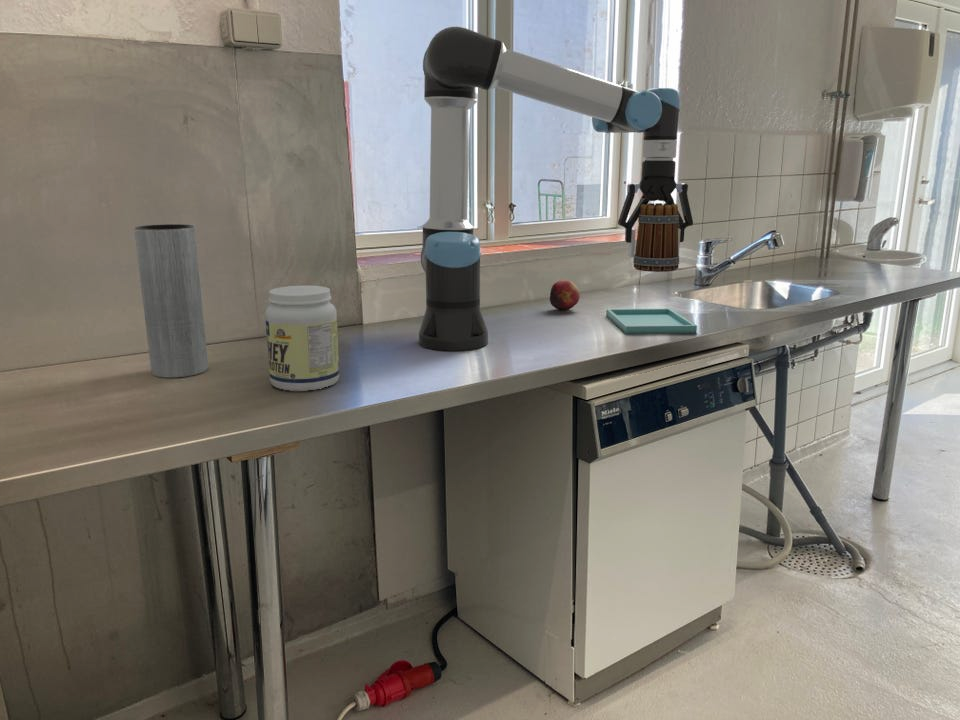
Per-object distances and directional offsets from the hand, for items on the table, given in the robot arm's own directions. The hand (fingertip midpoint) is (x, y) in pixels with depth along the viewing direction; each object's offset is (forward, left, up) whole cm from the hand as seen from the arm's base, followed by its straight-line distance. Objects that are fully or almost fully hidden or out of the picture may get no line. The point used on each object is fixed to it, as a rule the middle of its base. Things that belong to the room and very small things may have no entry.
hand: (653, 256), depth 176 cm
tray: (0, 0, -17) cm, 17 cm away
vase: (-100, -37, -17) cm, 108 cm away
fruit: (-18, +18, -17) cm, 31 cm away
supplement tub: (-75, -46, -17) cm, 90 cm away
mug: (+1, 0, -3) cm, 3 cm away
